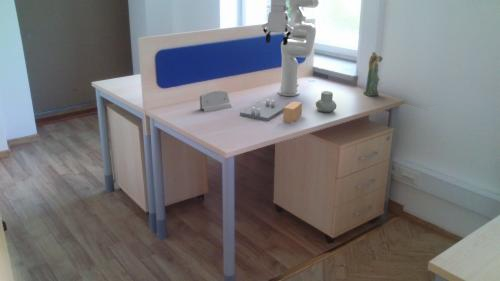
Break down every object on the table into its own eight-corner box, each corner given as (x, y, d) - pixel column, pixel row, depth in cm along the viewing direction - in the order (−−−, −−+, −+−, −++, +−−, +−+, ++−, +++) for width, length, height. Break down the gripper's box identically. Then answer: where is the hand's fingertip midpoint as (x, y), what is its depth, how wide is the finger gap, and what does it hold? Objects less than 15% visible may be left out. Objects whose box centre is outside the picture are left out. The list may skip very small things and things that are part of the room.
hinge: (203, 111, 248) (200, 92, 247) (200, 112, 252) (197, 93, 251) (232, 107, 256) (229, 88, 255) (228, 107, 260) (225, 89, 259)
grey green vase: (313, 108, 257) (315, 90, 253) (327, 106, 260) (329, 89, 256) (323, 114, 248) (325, 96, 244) (337, 113, 250) (339, 94, 246)
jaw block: (292, 114, 248) (293, 101, 245) (301, 115, 246) (302, 102, 243) (283, 121, 238) (283, 107, 235) (292, 122, 236) (293, 109, 233)
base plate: (258, 104, 261) (258, 96, 259) (285, 109, 253) (285, 101, 252) (240, 115, 244) (240, 106, 243) (267, 120, 237) (268, 112, 235)
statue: (380, 94, 283) (385, 52, 273) (370, 96, 278) (375, 54, 269) (372, 91, 288) (377, 50, 278) (361, 93, 284) (366, 51, 274)
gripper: (297, 9, 237) (295, 44, 243) (266, 7, 245) (265, 40, 252) (290, 10, 231) (288, 46, 237) (259, 8, 239) (258, 42, 246)
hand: (276, 43), depth 244 cm, fingers open, 9 cm apart
